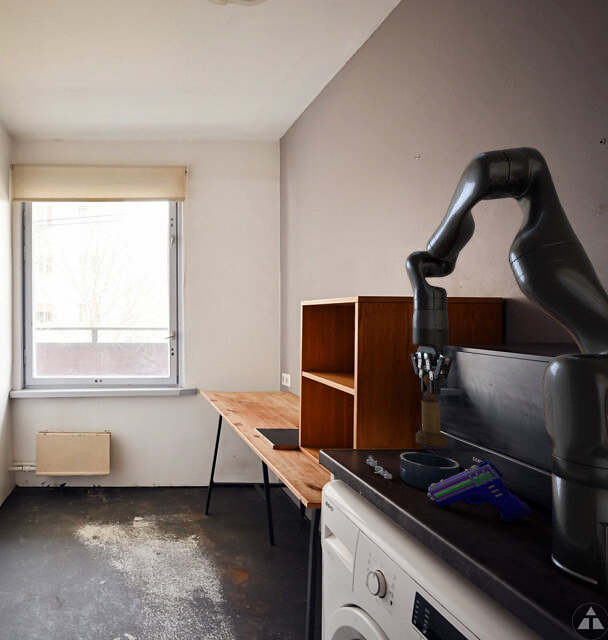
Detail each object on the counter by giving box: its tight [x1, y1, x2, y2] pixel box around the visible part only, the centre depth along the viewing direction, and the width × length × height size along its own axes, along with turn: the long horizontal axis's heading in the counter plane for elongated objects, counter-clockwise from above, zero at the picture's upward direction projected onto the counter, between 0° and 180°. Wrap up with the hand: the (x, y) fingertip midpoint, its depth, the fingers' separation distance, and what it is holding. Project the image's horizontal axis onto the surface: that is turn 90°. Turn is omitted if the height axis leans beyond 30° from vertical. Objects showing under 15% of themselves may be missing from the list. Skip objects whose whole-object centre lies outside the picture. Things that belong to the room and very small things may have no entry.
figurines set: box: [366, 454, 393, 480], centre depth 105 cm, size 12×3×3 cm, turn 170°
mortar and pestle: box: [415, 374, 448, 448], centre depth 107 cm, size 7×6×18 cm
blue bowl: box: [399, 451, 460, 491], centre depth 97 cm, size 11×11×6 cm
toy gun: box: [427, 459, 532, 523], centre depth 82 cm, size 4×13×10 cm
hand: (430, 393), depth 107 cm, fingers closed on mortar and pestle, 3 cm apart
